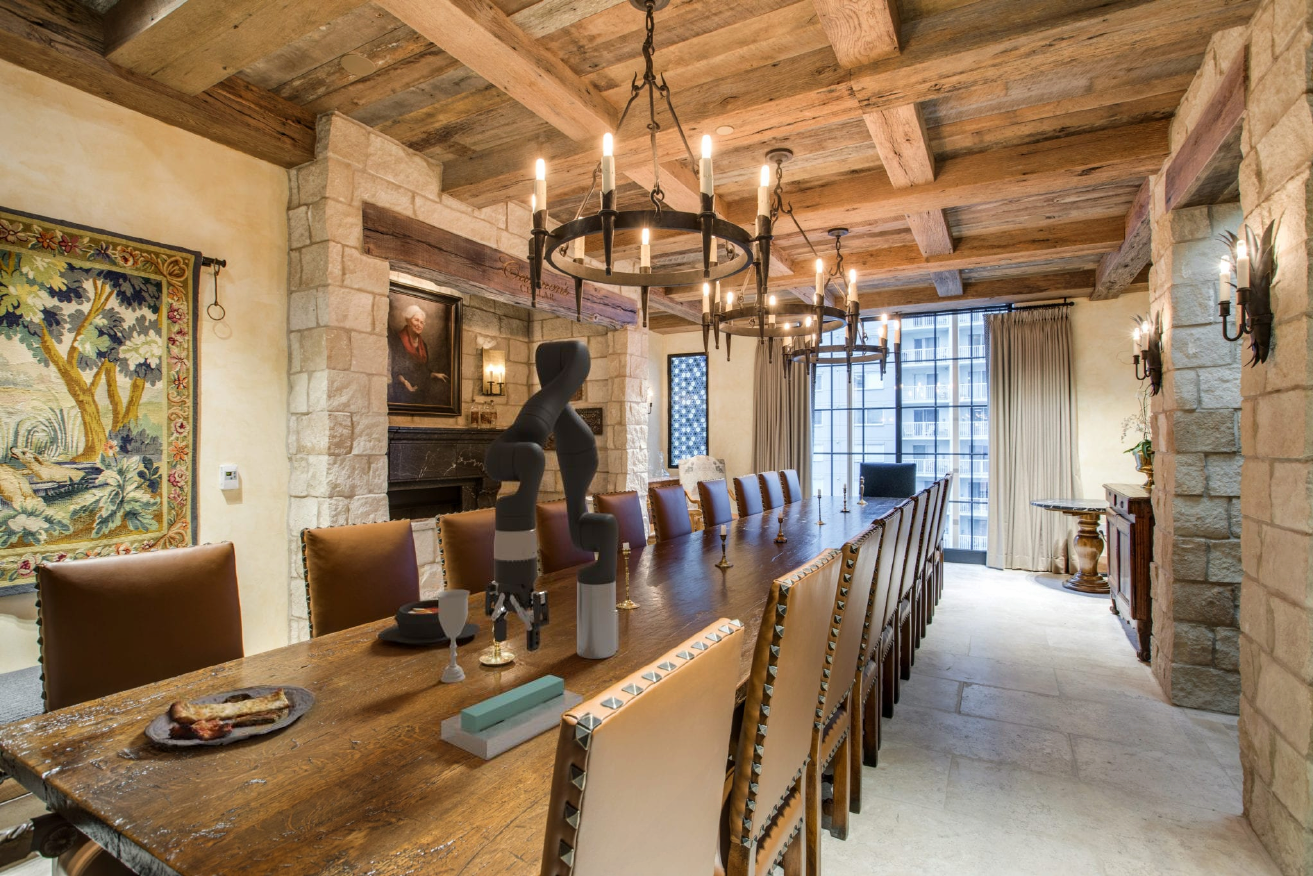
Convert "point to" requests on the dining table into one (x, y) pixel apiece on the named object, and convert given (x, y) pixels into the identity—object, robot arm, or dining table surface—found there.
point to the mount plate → (509, 727)
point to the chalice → (453, 627)
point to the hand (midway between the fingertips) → (516, 645)
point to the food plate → (228, 715)
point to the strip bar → (511, 703)
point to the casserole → (421, 625)
